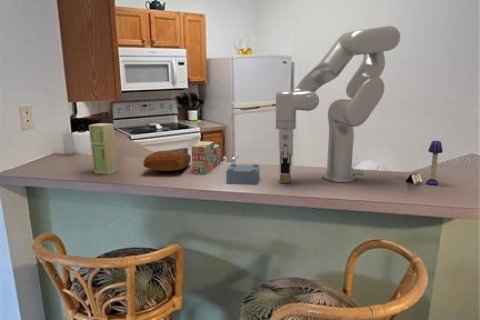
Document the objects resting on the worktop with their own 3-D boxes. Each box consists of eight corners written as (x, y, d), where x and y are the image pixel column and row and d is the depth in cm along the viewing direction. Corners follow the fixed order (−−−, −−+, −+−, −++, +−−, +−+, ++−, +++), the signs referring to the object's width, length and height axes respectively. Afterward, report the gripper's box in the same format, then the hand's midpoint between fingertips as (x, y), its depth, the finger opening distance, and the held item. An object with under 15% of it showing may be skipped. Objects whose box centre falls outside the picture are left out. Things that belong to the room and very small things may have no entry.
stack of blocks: (208, 162, 170) (207, 137, 167) (220, 163, 168) (220, 138, 166) (192, 174, 150) (191, 145, 147) (206, 174, 148) (205, 146, 145)
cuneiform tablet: (179, 177, 144) (179, 158, 142) (140, 176, 146) (138, 157, 144) (193, 165, 165) (193, 148, 163) (159, 164, 167) (158, 147, 166)
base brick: (259, 177, 144) (259, 163, 142) (257, 184, 134) (257, 169, 133) (230, 176, 145) (230, 162, 144) (226, 183, 136) (226, 168, 134)
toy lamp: (437, 186, 130) (443, 142, 127) (423, 184, 133) (429, 141, 129) (438, 183, 134) (444, 140, 131) (425, 181, 137) (430, 139, 133)
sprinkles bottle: (293, 182, 136) (293, 148, 133) (284, 184, 134) (284, 149, 131) (285, 179, 140) (285, 146, 137) (276, 181, 137) (276, 147, 134)
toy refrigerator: (92, 173, 150) (87, 124, 145) (104, 169, 157) (100, 122, 152) (106, 175, 147) (102, 125, 143) (118, 171, 154) (114, 123, 149)
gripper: (296, 127, 123) (295, 177, 127) (295, 121, 139) (294, 166, 143) (275, 127, 124) (274, 177, 128) (276, 121, 140) (276, 166, 144)
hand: (285, 171), depth 136 cm, fingers closed on sprinkles bottle, 4 cm apart
